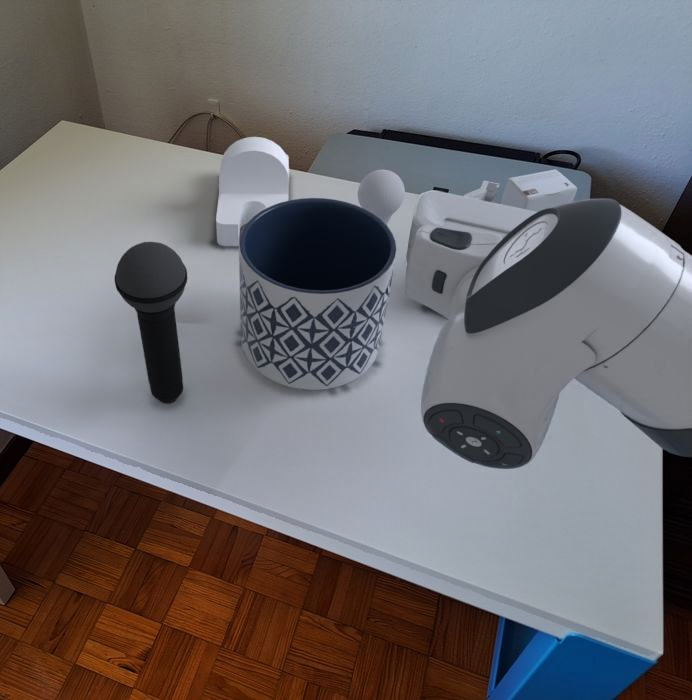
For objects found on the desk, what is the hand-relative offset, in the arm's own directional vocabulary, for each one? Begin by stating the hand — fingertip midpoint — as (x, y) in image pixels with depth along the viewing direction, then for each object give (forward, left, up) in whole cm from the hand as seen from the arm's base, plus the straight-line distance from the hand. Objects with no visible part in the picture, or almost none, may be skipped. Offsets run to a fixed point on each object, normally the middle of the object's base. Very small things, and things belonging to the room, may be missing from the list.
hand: (543, 199), depth 62 cm
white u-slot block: (+36, -16, -21) cm, 45 cm away
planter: (+19, +6, -21) cm, 29 cm away
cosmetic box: (0, -12, -17) cm, 21 cm away
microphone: (+30, +20, -21) cm, 42 cm away
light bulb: (+18, -16, -21) cm, 32 cm away
